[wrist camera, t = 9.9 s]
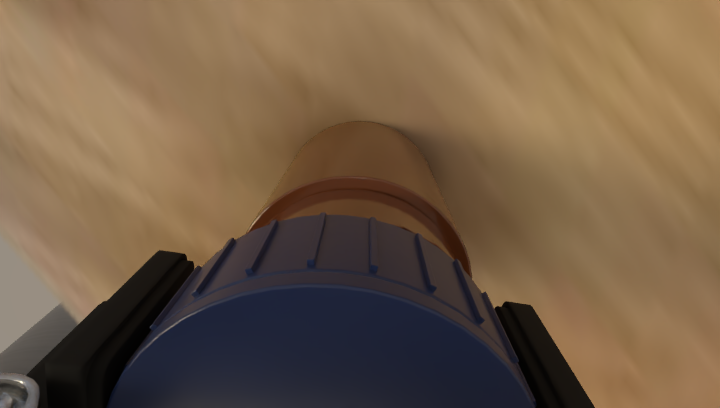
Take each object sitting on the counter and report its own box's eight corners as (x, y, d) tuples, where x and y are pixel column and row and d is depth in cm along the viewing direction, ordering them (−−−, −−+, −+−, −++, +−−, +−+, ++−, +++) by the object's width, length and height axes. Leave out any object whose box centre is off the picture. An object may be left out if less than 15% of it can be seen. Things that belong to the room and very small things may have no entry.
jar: (431, 260, 21) (485, 461, 11) (292, 261, 21) (219, 459, 11) (436, 119, 18) (508, 209, 9) (281, 122, 19) (180, 212, 9)
